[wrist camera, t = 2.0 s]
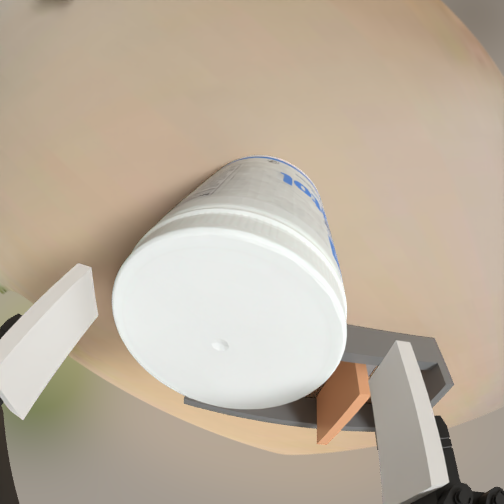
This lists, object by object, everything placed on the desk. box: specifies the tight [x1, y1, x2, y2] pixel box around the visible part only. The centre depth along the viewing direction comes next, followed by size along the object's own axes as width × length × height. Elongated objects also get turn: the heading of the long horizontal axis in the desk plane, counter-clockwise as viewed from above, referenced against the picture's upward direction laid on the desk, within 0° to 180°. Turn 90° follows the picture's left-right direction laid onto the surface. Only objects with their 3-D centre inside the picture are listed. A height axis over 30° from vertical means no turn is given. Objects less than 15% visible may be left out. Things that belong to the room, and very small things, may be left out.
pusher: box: [316, 361, 376, 445], centre depth 28 cm, size 4×11×7 cm, turn 169°
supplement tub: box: [112, 155, 347, 409], centre depth 17 cm, size 10×10×15 cm
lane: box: [184, 325, 454, 450], centre depth 28 cm, size 26×14×7 cm, turn 79°
